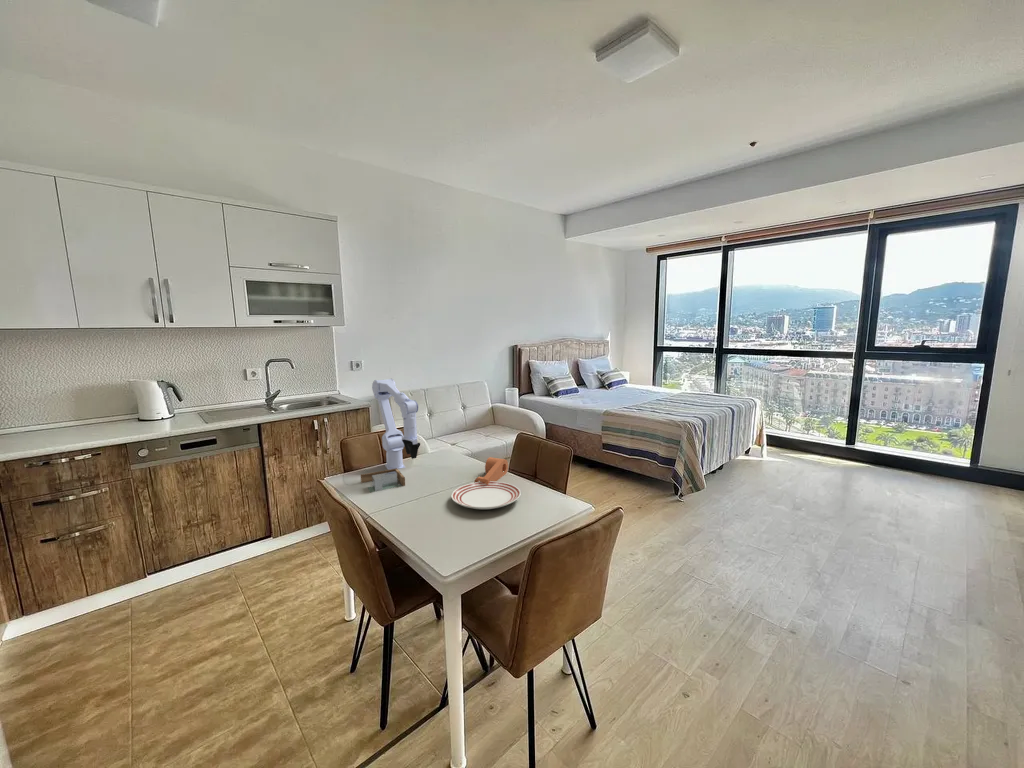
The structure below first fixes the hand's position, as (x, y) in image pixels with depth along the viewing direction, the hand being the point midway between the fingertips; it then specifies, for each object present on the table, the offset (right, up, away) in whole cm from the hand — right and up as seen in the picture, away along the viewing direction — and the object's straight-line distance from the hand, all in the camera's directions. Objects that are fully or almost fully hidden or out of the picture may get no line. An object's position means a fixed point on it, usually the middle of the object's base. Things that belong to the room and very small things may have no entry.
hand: (411, 456), depth 183 cm
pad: (-10, -11, -10) cm, 18 cm away
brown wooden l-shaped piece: (-11, -11, -8) cm, 17 cm away
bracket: (-8, -11, -11) cm, 18 cm away
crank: (+37, -10, -3) cm, 38 cm away
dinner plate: (+36, -13, -25) cm, 46 cm away
